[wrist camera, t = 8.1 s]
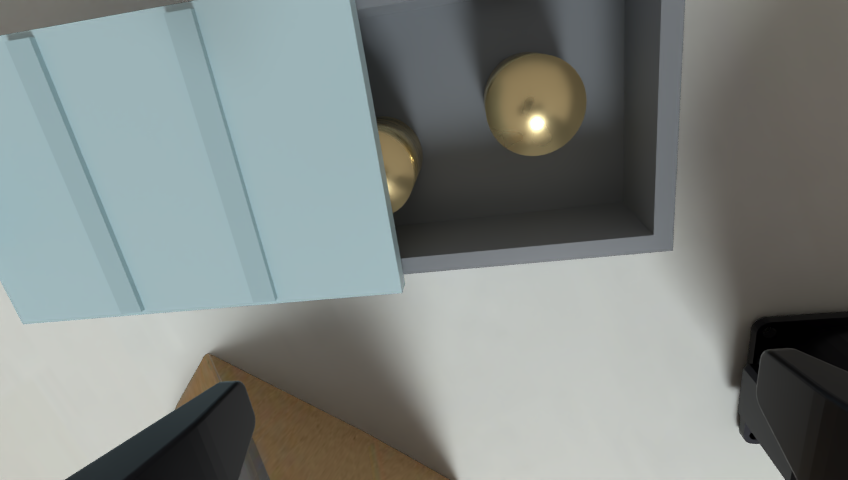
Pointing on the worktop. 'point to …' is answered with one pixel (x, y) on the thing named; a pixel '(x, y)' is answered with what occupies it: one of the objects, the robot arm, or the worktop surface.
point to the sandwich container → (304, 436)
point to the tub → (518, 174)
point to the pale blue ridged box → (192, 162)
